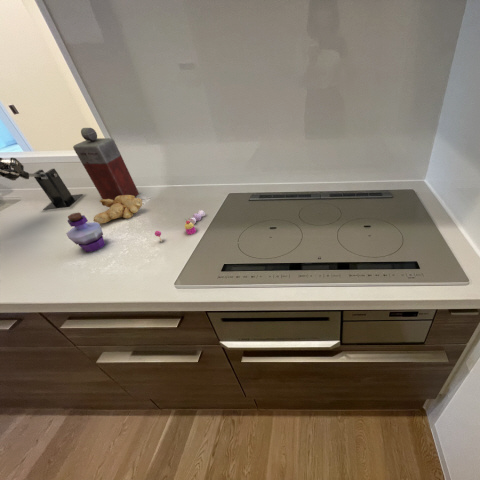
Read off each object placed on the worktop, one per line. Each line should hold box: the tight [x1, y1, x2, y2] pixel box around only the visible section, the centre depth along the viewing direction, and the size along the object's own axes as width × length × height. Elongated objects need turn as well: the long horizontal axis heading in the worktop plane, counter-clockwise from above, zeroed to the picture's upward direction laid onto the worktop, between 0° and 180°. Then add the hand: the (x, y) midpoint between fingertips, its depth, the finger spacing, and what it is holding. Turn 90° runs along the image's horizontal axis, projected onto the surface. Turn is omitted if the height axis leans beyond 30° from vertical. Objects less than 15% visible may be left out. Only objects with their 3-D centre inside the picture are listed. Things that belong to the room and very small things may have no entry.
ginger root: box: [92, 195, 143, 224], centre depth 97 cm, size 16×16×8 cm
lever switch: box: [32, 168, 84, 211], centre depth 102 cm, size 11×9×14 cm
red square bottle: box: [72, 127, 140, 200], centre depth 100 cm, size 9×11×28 cm
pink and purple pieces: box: [154, 209, 206, 243], centre depth 88 cm, size 18×8×6 cm, turn 163°
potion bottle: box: [65, 212, 106, 253], centre depth 79 cm, size 9×9×12 cm
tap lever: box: [4, 168, 48, 180], centre depth 92 cm, size 17×3×3 cm, turn 13°
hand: (21, 177), depth 89 cm, fingers closed on tap lever, 3 cm apart
